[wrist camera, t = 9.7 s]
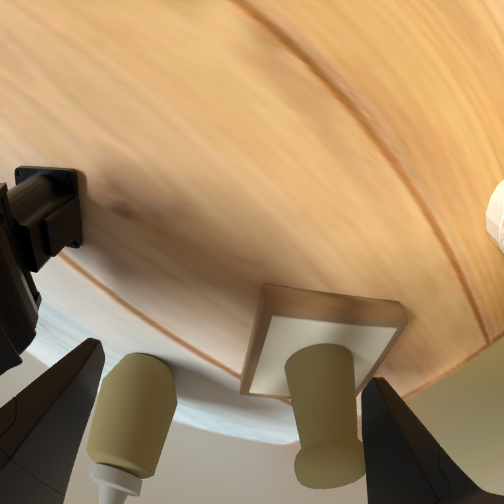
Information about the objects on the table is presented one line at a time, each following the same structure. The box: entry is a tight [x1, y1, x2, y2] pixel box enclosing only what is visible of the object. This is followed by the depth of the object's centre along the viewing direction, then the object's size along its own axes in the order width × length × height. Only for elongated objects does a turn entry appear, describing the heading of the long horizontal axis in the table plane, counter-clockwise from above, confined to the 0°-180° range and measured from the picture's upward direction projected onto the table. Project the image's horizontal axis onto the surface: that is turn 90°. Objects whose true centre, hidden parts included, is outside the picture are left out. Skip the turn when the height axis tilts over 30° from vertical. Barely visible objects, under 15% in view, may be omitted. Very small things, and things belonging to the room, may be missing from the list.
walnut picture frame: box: [240, 284, 408, 399], centre depth 26 cm, size 12×12×3 cm
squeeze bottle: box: [86, 353, 177, 504], centre depth 22 cm, size 8×8×18 cm
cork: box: [284, 343, 366, 489], centre depth 20 cm, size 6×6×11 cm
